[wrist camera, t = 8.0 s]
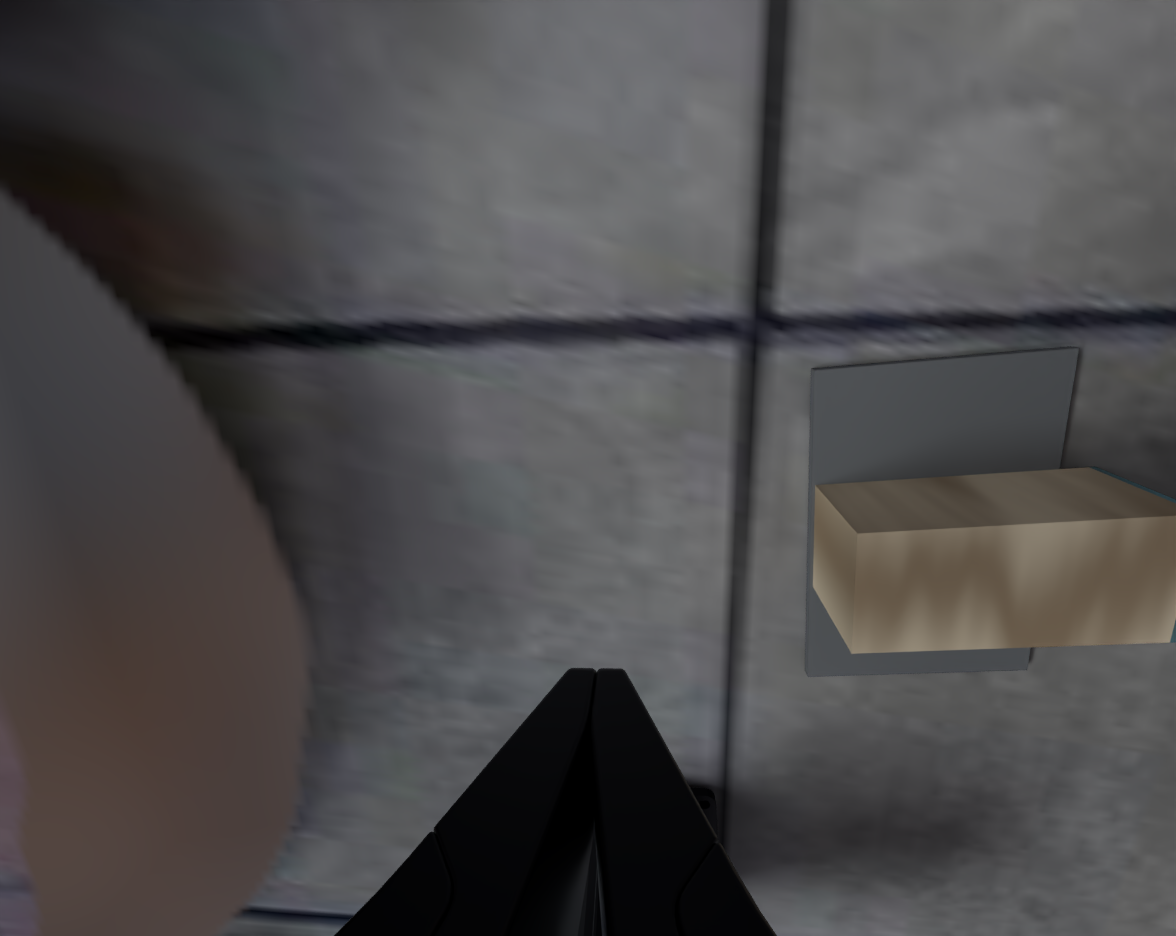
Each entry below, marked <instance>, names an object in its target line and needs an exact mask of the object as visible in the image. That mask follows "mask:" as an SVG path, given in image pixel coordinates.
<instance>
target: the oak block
mask: <svg viewBox="0 0 1176 936" xmlns="http://www.w3.org/2000/svg"><path fill="white" fill-rule="evenodd" d="M813 588H814V589H815V591H816V593H817V595H818V596H819V598H820V600H821V602H822V603H823V605H824V607H825V608H826V610H827V612H828V614H829V615H830V617H831V619H832V621H833V622H834V624H835V626H836V628H837V629H838V631H839V633H840V634H841V636H842V638H843V640H844V641H845V643H846V645H847V647H848V648H849V650H850V652H851V654H858V653H887V652H915V651H943V650H972V649H1000V648H1029V647H1057V646H1085V645H1114V644H1142V643H1170V642H1176V500H1175V499H1173V498H1170V497H1168V496H1165V495H1163V494H1161V493H1158V492H1156V491H1153V490H1151V489H1148V488H1146V487H1144V486H1141V485H1139V484H1136V483H1134V482H1131V481H1129V480H1126V479H1124V478H1122V477H1119V476H1117V475H1114V474H1112V473H1109V472H1107V471H1104V470H1102V469H1100V468H1097V467H1085V468H1070V469H1054V470H1039V471H1024V472H1008V473H993V474H978V475H963V476H947V477H932V478H917V479H901V480H886V481H871V482H855V483H840V484H825V485H815V516H814V559H813Z"/></svg>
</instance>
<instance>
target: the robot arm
mask: <svg viewBox="0 0 1176 936" xmlns="http://www.w3.org/2000/svg"><path fill="white" fill-rule="evenodd" d="M702 800H707V801H702ZM334 936H777V935H776V934H775V932H774V931H773V929H772V928H771V926H770V925H769V923H768V922H767V920H766V919H765V917H764V916H763V915H762V913H761V912H760V910H759V908H758V907H757V905H756V903H755V901H754V900H753V898H752V896H751V895H750V893H749V891H748V890H747V888H746V886H745V885H744V883H743V881H742V880H741V878H740V876H739V875H738V873H737V871H736V870H735V868H734V866H733V864H732V862H731V860H730V859H729V857H728V855H727V853H726V851H725V850H724V848H723V846H722V845H721V844H720V843H718V838H717V816H716V801H715V795H714V793H713V792H712V791H711V790H709V789H707V788H690V787H689V785H688V783H687V782H686V780H685V778H684V776H683V774H682V773H681V771H680V769H679V767H678V765H677V764H676V762H675V760H674V758H673V756H672V755H671V753H670V751H669V749H668V747H667V746H666V744H665V742H664V740H663V738H662V736H661V735H660V733H659V731H658V729H657V727H656V726H655V724H654V722H653V720H652V718H651V717H650V715H649V713H648V711H647V709H646V708H645V706H644V704H643V702H642V700H641V699H640V697H639V695H638V693H637V691H636V690H635V688H634V686H633V684H632V682H631V681H630V679H629V677H628V675H627V673H626V672H625V671H624V670H623V669H613V668H601V669H599V670H598V671H597V673H596V671H595V670H594V669H593V668H571V669H569V670H568V671H567V672H566V673H565V674H564V675H563V676H562V677H561V679H560V680H559V681H558V682H557V683H556V685H555V686H554V687H553V688H552V689H551V690H550V692H549V693H548V694H547V695H546V696H545V697H544V699H543V700H542V701H541V702H540V703H539V705H538V706H537V707H536V708H535V709H534V710H533V712H532V713H531V714H530V715H529V716H528V717H527V719H526V720H525V721H524V722H523V723H522V725H521V726H520V727H519V728H518V729H517V730H516V732H515V733H514V734H513V735H512V736H511V737H510V739H509V740H508V741H507V742H506V743H505V745H504V746H503V747H502V748H501V749H500V750H499V752H498V753H497V754H496V755H495V756H494V757H493V759H492V760H491V761H490V762H489V763H488V765H487V766H486V767H485V768H484V769H483V770H482V772H481V773H480V774H479V775H478V776H477V777H476V779H475V780H474V781H473V782H472V783H471V785H470V786H469V787H468V788H467V789H466V790H465V792H464V793H463V794H462V795H461V796H460V797H459V799H458V800H457V801H456V802H455V803H454V805H453V806H452V807H451V808H450V809H449V810H448V812H447V813H446V814H445V815H444V816H443V817H442V819H441V820H440V821H439V822H438V823H437V825H436V826H435V827H434V832H430V833H429V834H428V835H427V836H426V837H425V838H424V839H423V841H422V842H421V843H420V844H419V845H418V846H417V848H416V849H415V850H414V851H413V852H412V854H411V855H410V856H409V857H408V858H407V859H406V860H405V861H404V863H403V864H402V865H401V866H400V867H399V868H398V869H397V870H396V871H395V873H394V874H393V875H392V876H391V877H390V878H389V879H388V880H387V882H386V883H385V884H384V885H383V886H382V887H381V888H380V889H379V890H378V892H377V893H376V894H375V895H374V896H373V897H372V898H371V899H370V900H369V901H368V902H367V903H366V904H365V905H364V906H363V907H362V908H361V909H360V910H359V911H358V912H357V913H356V914H355V915H354V916H353V917H352V918H351V919H350V920H349V921H348V922H347V923H346V924H345V925H344V926H343V927H342V928H341V929H340V930H339V931H338V932H337V933H336V934H335V935H334Z"/></svg>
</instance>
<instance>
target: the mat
mask: <svg viewBox="0 0 1176 936" xmlns="http://www.w3.org/2000/svg"><path fill="white" fill-rule="evenodd" d="M1078 352H1079V348H1076V347H1059V348H1047V349H1036V350H1024V351H1012V352H1000V353H989V354H977V355H965V356H954V357H942V358H930V359H918V360H907V361H895V362H883V363H872V364H860V365H848V366H836V367H825V368H813V369H811V394H810V443H809V493H808V543H807V592H806V642H805V672H806V674H807V676H808V677H819V676H851V675H884V674H916V673H948V672H981V671H1013V670H1027V667H1028V661H1029V655H1030V648H1031V647H1029V648H1000V649H972V650H943V651H915V652H887V653H858V654H851V652H850V650H849V648H848V647H847V645H846V643H845V641H844V640H843V638H842V636H841V634H840V633H839V631H838V629H837V628H836V626H835V624H834V622H833V621H832V619H831V617H830V615H829V614H828V612H827V610H826V608H825V607H824V605H823V603H822V602H821V600H820V598H819V596H818V595H817V593H816V591H815V589H814V588H813V559H814V516H815V485H825V484H840V483H855V482H871V481H886V480H901V479H917V478H932V477H947V476H963V475H978V474H993V473H1008V472H1024V471H1039V470H1054V469H1060V463H1061V457H1062V451H1063V444H1064V438H1065V432H1066V426H1067V420H1068V414H1069V407H1070V401H1071V395H1072V389H1073V383H1074V376H1075V370H1076V364H1077V358H1078Z"/></svg>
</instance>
